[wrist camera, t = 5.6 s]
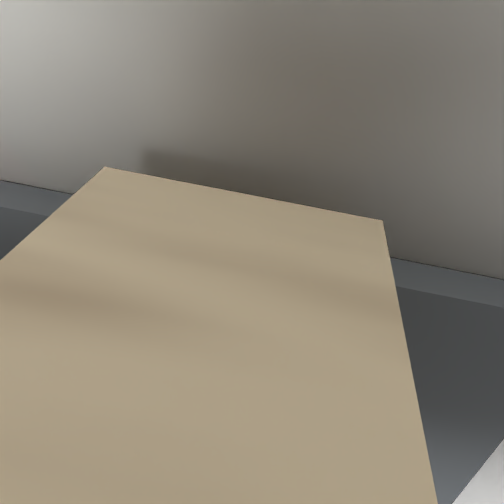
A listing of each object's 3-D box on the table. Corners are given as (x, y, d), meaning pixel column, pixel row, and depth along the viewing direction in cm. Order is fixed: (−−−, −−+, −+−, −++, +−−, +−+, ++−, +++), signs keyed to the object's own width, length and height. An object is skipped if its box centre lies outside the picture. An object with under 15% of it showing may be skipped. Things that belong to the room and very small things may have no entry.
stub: (301, 448, 12) (279, 812, 7) (118, 407, 12) (-36, 729, 7) (382, 220, 8) (477, 704, 3) (104, 166, 8) (-284, 515, 3)
